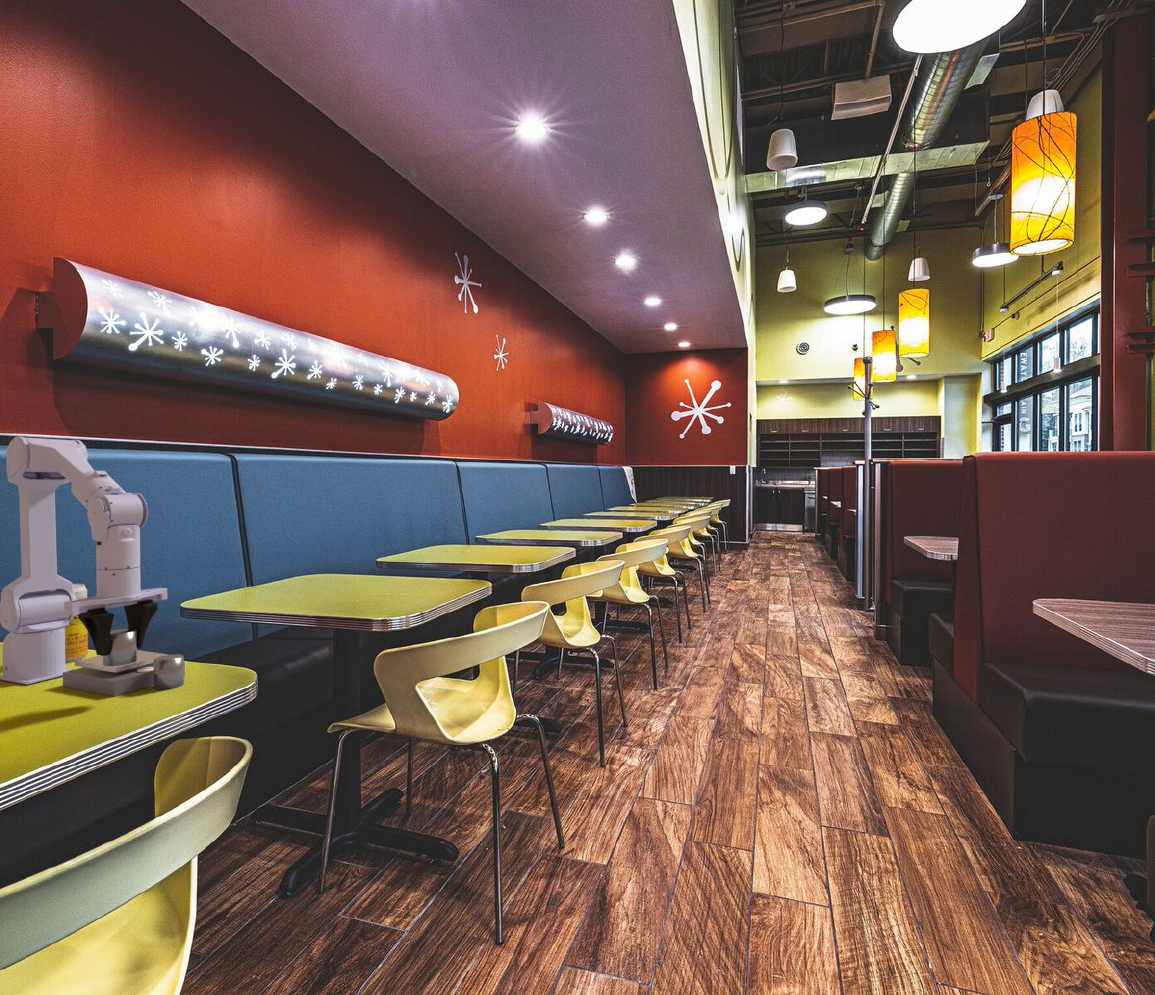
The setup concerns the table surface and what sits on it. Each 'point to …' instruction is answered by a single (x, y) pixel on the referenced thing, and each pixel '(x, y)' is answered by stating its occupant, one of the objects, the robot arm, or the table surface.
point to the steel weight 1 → (122, 647)
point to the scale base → (110, 680)
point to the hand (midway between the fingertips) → (119, 651)
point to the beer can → (76, 632)
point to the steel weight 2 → (168, 672)
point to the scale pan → (142, 659)
